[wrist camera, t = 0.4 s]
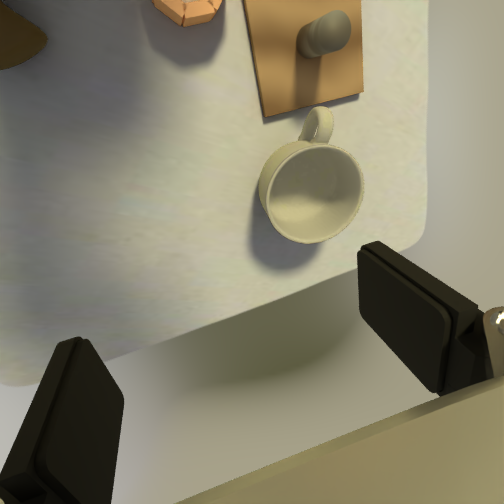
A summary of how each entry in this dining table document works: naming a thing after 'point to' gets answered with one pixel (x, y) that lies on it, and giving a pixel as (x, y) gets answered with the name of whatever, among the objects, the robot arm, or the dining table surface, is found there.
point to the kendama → (18, 38)
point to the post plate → (292, 68)
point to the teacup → (311, 184)
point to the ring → (188, 10)
